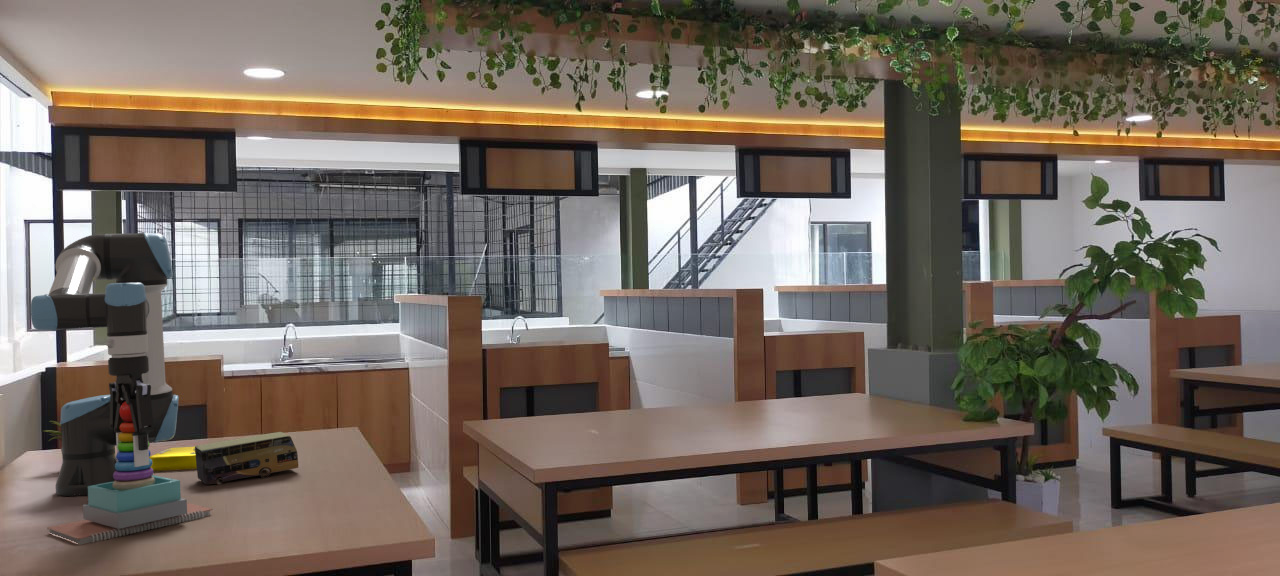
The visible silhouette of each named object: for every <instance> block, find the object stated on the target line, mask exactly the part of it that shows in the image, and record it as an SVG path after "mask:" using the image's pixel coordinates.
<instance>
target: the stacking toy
mask: <svg viewBox="0 0 1280 576" xmlns="http://www.w3.org/2000/svg"><path fill="white" fill-rule="evenodd" d="M119 413H120V416H121V418H122V419H123V420H124V421H126V422H124V423H122V424H121V425H120V430H121V431H122V433H120V434H119V436H118V439H119V441H121V442H120V443H119V444H118V450H119V452H118V453H117V452H116V454H115V456H116V459H117V460H118V462H116V464H115V469H116V470H117V471H115V472H114V474H113V478H114V479H115V481H114V482H113V484H112V486H113V488H114V489H115V490H119V491H124V490H129V489H134V488H139V487H144V486H149V485H154V483H155V479H154V477H152V475H154V471H153V469H152V468H150V467H151V466H152V460H151V459H150V458H149V465H144V466H138V467H134V447H133V436H132V433H134V432H135V430H134V425H133V420H132V416H131V411H130V407H129V405H128V404H126V401H125V402H124V403H123V404H122V405H121V407H120V410H119ZM148 447H150V442H149V441H148ZM151 454H152V453H151V451H150V450H149V457H150V456H152V455H151Z"/></svg>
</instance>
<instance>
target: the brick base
mask: <svg viewBox="0 0 1280 576" xmlns="http://www.w3.org/2000/svg"><path fill="white" fill-rule="evenodd" d="M152 477H154V479H155V483H154V485H149V486H144V487H139V488H134V489H129V490H124V491H119V490H115V489H114V488H113V486H112V484H113V482H108V483H103V484H98V485H92V486H88V495H87V497H88V498H87V501H88V502H87V504H82V512H83V513H82V514H83V517H82V518H83V520H88V521H92V522H95V523H99V524H103V525H106V526H110V527H113V528H117V529H121V528H125V527H130V526H134V525H139V524H143V523H148V522H152V521H156V520H161V519H165V518H170V517H174V516H178V515H183V514H187V503H188V501H187V500H188V499H186V498H182V497H181V496H182V494H181V480H179V479H173V478H169V477H164V476H159V475H154V474H153V475H152Z"/></svg>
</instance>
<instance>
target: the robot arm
mask: <svg viewBox="0 0 1280 576" xmlns="http://www.w3.org/2000/svg"><path fill="white" fill-rule="evenodd" d="M170 255H171V254H170V251H169V246H168V241H167V238H166V237H165V235H163V234H162V233H154V232H137V233H136V232H133V233H130V232H128V233H96V234H92V235H87V236H84V237H81V238H80V239H77V240H75V241H73V242H72V243H70V244H68V245H67V246H66V247H65V248H63V249H62V250H61V252H60V253H59V255H58V256H57V258H56V261H55V271H56V274H55V276H54V280H53V282H52V285H51V287H50V290H49V293H48V294H47V293H45V294H43V295H42V294H41V295H35V296H33V297H32V298H31V302H30V318H31V319H30V320H31V325H32V327H33V329H36V330H37V331H52V332H54V331H60V330H76V329H77V330H79V329H80V330H81V329H96V328H106V337H107V338H106V339H107V341H105V346H107V355H109V356H111V357H109V358H108V360H107V363H108V365H107V366H108V369H107V370H108V375H110V376H111V377H113V376H114V377H115V376H116V379H115V382H110V383H108V389H109V394H104V395H97V396H95V395H94V396H92V397H85V398H82V399H78V400H73V401H69V402H66V403H65V404H64V405H63V406H61V409H60V422H59V423H60V424H61V427H60V432H61V436H60V437H61V438H62V439H61V440H62V441H61V448H62V452H61V457H62V462H61V466H60V469H59V473H58V476H57V479H56V483H55V494H56V495H57V496H61V495H62V496H63V497H65V496H66V497H68V496H69V497H72V496H73V497H75V496H88V486H92V485H98V484H103V483H108V482H114V481H115V479H114V478H113V474H114V472H115V471H117V470H116V469H115V464H116V462H118V460H117V459H116V454H117V453H118V452H119V450H118V444H119V443H120V442H121V441H119V439H118V436H119V434H120V433H122V431H121V430H120V425H121V424H122V423H124V422H126V421H124V420H123V419H122V418H121V416H120V413H119V410H120V407H121V405H122V404H123V403H124V402H125V401H126V404H128V405H129V407H130V411H131V416H132V420H133V425H134V430H135V432H134V433H132V436H133V447H134V467H138V466H144V465H149V447H150V446H149V447H148V441H149V443H154V444H155V443H157V442H163V441H170V440H172V439H173V438H174V437H175V435H176V429H177V418H178V411H179V400H180V398H179V395H178V394H177V395H176V394H173V387H171V386H170V385H169V384H167V382H166V367H165V364H166V363H165V346H164V345H165V344H164V326H163V325H164V323H163V305H162V292H163V290H164V289H165V288H166V287H167V285H168V279H171V278H173V276H174V272H173V267H172V266H173V265H172V260H171V256H170ZM99 280H102V281H103V280H107V281H109V280H115V282H111V283H108V284H106V285H105V288H104V290H105V291H104V292H98V293H97V292H96V293H93V292H92V293H90V291H91V288H92V285H93V282H95V281H99ZM60 424H59V425H60ZM62 496H61V497H62Z"/></svg>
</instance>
